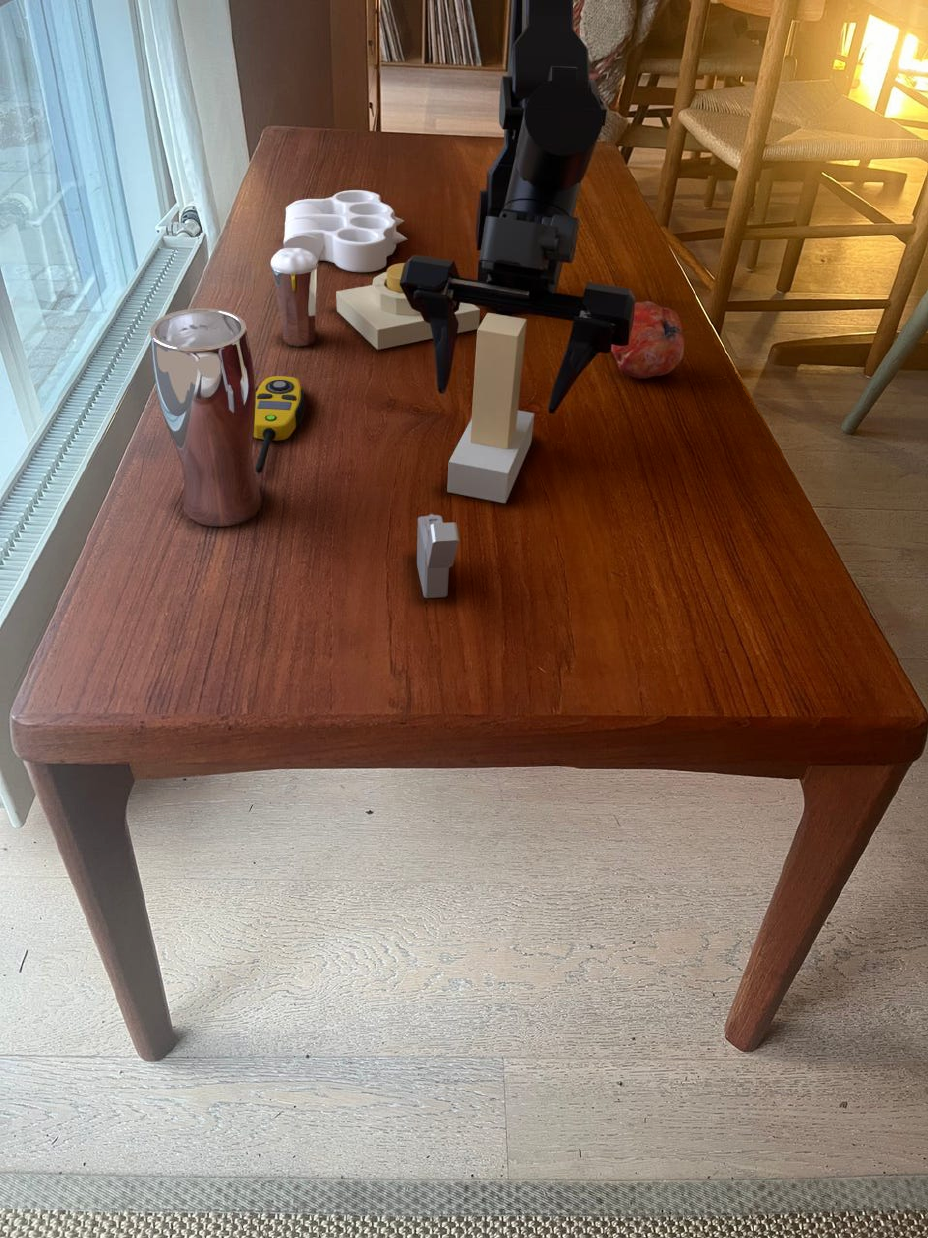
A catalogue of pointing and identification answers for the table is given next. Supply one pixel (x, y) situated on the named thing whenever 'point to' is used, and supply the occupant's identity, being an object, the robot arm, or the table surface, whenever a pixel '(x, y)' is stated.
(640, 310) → the pomegranate
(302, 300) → the milkshake
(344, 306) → the bell stand
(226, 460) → the beer glass
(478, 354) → the stamp
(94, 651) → the table surface
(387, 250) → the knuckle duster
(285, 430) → the remote control
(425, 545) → the lighter
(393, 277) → the bell button
